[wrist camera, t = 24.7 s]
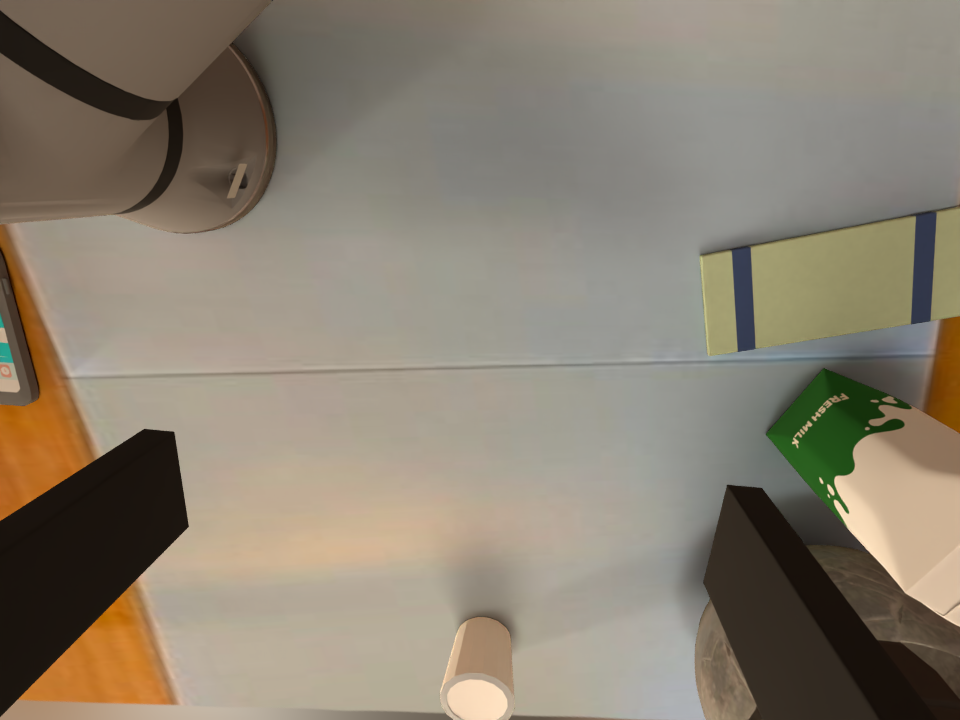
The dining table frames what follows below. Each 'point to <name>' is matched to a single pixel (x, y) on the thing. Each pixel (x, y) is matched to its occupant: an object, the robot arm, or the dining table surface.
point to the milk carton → (883, 480)
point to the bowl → (873, 600)
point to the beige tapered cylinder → (479, 673)
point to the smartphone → (13, 351)
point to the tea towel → (833, 283)
